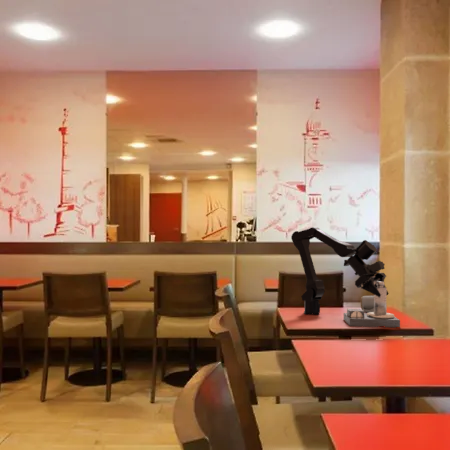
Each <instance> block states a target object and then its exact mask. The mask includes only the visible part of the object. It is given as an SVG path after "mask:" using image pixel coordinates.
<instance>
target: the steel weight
mask: <svg viewBox="0 0 450 450" xmlns="http://www.w3.org/2000/svg"><path fill="white" fill-rule="evenodd" d="M384 284H385V281H384V282H382V281H377V282H376V285H377V287H376V288H377V289H378V291H379V292H380V294H381V296H380V297H378V296H376V295H374V294H373V296H374V314H377V315H386V313H387V296H388V295H387V291H388V289H387V287H386V286H385V287H386V288H385V287H383V286H384Z"/></svg>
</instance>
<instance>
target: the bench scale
mask: <svg viewBox="0 0 450 450" xmlns="http://www.w3.org/2000/svg"><path fill="white" fill-rule="evenodd" d="M344 320H345V321H346V322H345V321H344ZM343 321H344V322H345V323H346V324H347V325H348V326H349V327H362V326H363V327H365V328H366V327H369V328H371V327H372V328H373V327H374V328H379V327H378V326H385V327H384V328H396V327H400V328H401V320H400V319H399V318H397V317H396V316H395V314H394V313H390V312H386V315H377V314H374V312H369V313H366V312H364V311H363V310H362V309H361V308H347V309H346V312H343ZM376 326H377V327H376Z"/></svg>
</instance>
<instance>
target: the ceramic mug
mask: <svg viewBox="0 0 450 450" xmlns="http://www.w3.org/2000/svg"><path fill="white" fill-rule="evenodd" d="M360 309H362V310H363V311H364V313H366V312H367V313H369V312H374V295H363V296H361V297H360Z"/></svg>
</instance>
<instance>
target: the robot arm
mask: <svg viewBox="0 0 450 450" xmlns="http://www.w3.org/2000/svg"><path fill="white" fill-rule="evenodd" d="M314 238H315V239H317V240H318V241H320V242H321V243H324V244H325V245H327V246H328V247H329V248H331V249H332V250H333V252H334V253H335V254H336V255H338V256H339V257H340V258H347V259H344V263H343V266H344V267H349V266H350V268H352V270H353V271H354V276H358V278H357V279H356V280H355V281H354V285H355V286H356V287H357V289H362V290H365V291H366V292H369V293H370V294H371V295H372V294H373V296H374V295H376V296H378V297H380V296H381V294H380V292H379V291H378V289H377V288H376V287H377V285H376V282H377V281H382V282H384V286H383V287H385V288H387V287H386V285H385V279H386V278H387V275H386V274H385V273H384V272H378V271H381V270H385V263H384V262H383V261H381V260H378V261H376V262H374V263H372V264H369V263H368V264H367V263H366V262H365V260H366V261H368V260H369V259H370V258H371V257H372V256H373V255H374V254H375V253H376V252H377V248H376V246H375V245H374V244H372V243H371V242H370V241H368V240H366V239H364V240H362V241H361V243H360V244H359V245H358V246H357V247H355V246H354V245H353V244H351V243H348V242H345V241H341V240H339V239H337V238H335V237H334V236H332V235H330V234H328V233H327V232H325V231H323V230H322V229H320V228H319V227H313V226H312V227H310V228H307V229H305V230H300V231H299V230H298V231H297V230H296V231H295V230H294V232H293V233H292V234H291V241H292V243H293V244H292V245H294V248H296V249H297V251H298V253H299V257H300V261H301V264H302V267H303V271H304V274H305V279H306V283H305V291H304V293H303V294H302V295H301V300H302V301H304V311H303V313H304V314H305V315H316V316H317V315H320V313H321V304H320V302H319V301H321V300H322V297H323V295H324V293H325V289H326V287H325V285H324V280H323V279H319V278H318V277H317V273H316V268H315V266H314V265H315V264H314V262H313V258H312V255H311V251H310V244H311V241H310V240H312V239H314ZM389 293H390V292H389V291H388V290H387V296H388V295H389Z"/></svg>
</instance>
